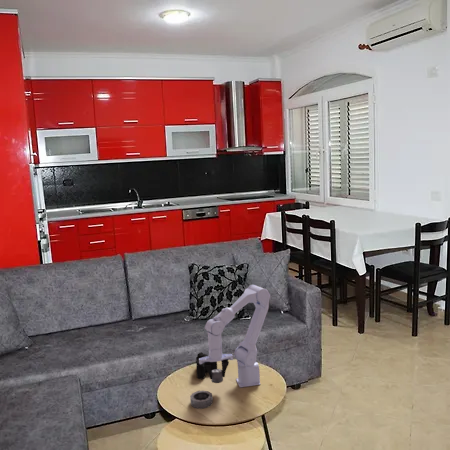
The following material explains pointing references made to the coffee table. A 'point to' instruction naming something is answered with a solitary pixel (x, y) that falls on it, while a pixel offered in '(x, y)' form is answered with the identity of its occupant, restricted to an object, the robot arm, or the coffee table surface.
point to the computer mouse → (217, 376)
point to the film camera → (203, 366)
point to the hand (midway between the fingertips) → (217, 377)
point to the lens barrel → (201, 399)
